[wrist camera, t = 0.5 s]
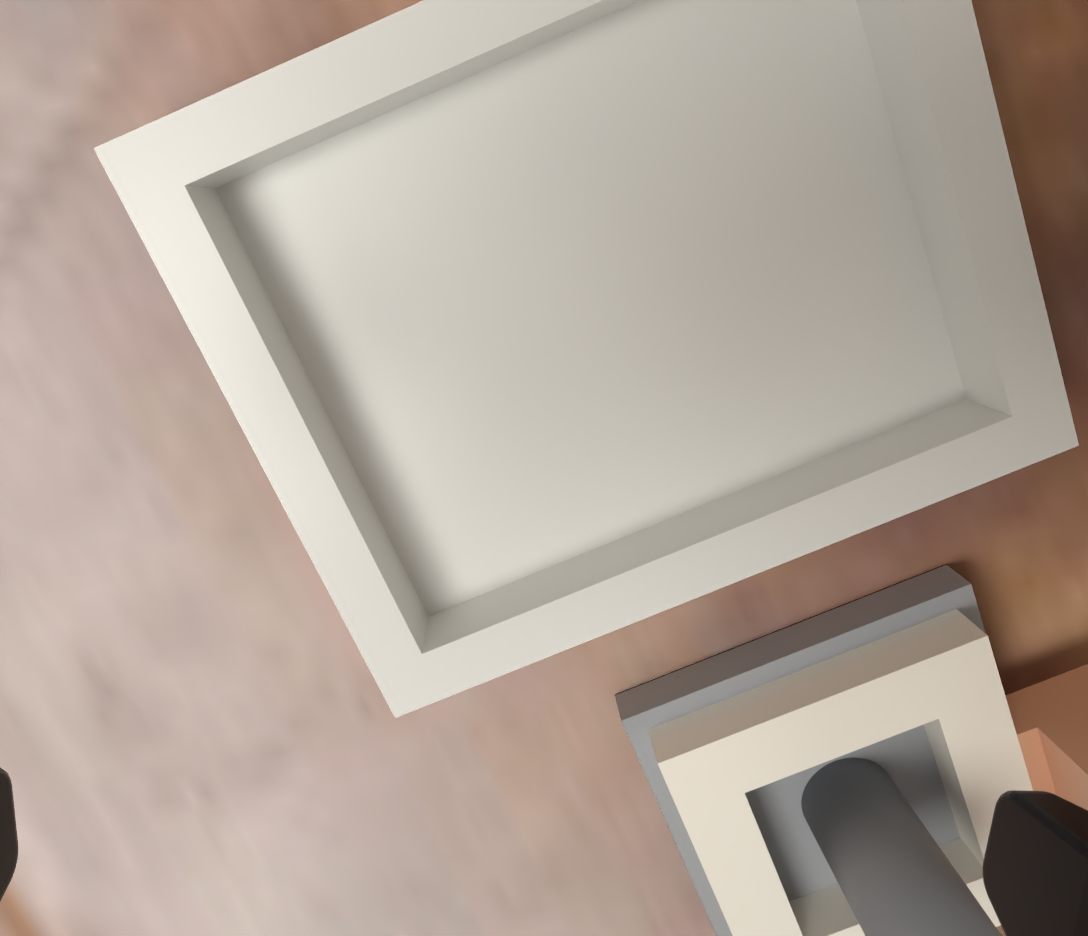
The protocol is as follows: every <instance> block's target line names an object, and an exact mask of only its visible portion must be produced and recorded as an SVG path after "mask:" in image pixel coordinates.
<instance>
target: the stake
mask: <svg viewBox="0 0 1088 936" xmlns="http://www.w3.org/2000/svg"><path fill="white" fill-rule="evenodd" d="M955 609H957V610H958V611H960V612H961V613H962V614H963V615H964V616H965V617H967V618H968V619H969V620H970V621H971V622H972V623H974V624H975V625H976V626H977V627H978V628H979V629H981V630H982V631H983V632H984V633H985V634H986V632H985V629H984V626H983V622H982V619H981V615H980V612H979V609H978V605H977V602H976V598H975V595H974V591H973V588H972V585H971V583H970V582H968V581H967V580H966V579H965V578H963V577H962V576H961V575H959V574H958V573H957V572H955V571H954V570H953V569H952V568H950V567H949V566H948V565H944V566H942V567H939V568H937V569H934V570H932V571H929V572H927V573H924V574H922V575H919V576H916V577H914V578H911V579H909V580H906V581H904V582H901V583H899V584H896V585H894V586H891V587H889V588H886V589H883V590H881V591H878V592H876V593H873V594H871V595H868V596H866V597H863V598H861V599H858V600H856V601H853V602H850V603H848V604H845V605H843V606H840V607H838V608H835V609H833V610H830V611H828V612H825V613H823V614H820V615H817V616H815V617H812V618H810V619H807V620H805V621H802V622H800V623H797V624H795V625H792V626H790V627H787V628H784V629H782V630H779V631H777V632H774V633H772V634H769V635H767V636H764V637H762V638H759V639H757V640H754V641H751V642H749V643H746V644H744V645H741V646H739V647H736V648H734V649H731V650H729V651H726V652H724V653H721V654H719V655H716V656H713V657H711V658H708V659H706V660H703V661H701V662H698V663H696V664H693V665H691V666H688V667H686V668H683V669H680V670H678V671H675V672H673V673H670V674H668V675H665V676H663V677H660V678H658V679H655V680H653V681H650V682H647V683H645V684H642V685H640V686H637V687H635V688H632V689H630V690H627V691H625V692H622V693H620V694H617V695H615V697H616V701H617V705H618V709H619V713H620V717H621V721H622V723H623V726H624V728H625V730H626V732H627V735H628V737H629V739H630V741H631V744H632V746H633V748H634V750H635V753H636V755H637V757H638V760H639V762H640V764H641V766H642V769H643V771H644V773H645V775H646V778H647V780H648V782H649V784H650V787H651V789H652V791H653V793H654V796H655V798H656V800H657V802H658V805H659V807H660V809H661V811H662V814H663V816H664V818H665V820H666V823H667V825H668V827H669V829H670V832H671V834H672V836H673V838H674V841H675V843H676V845H677V848H678V850H679V852H680V854H681V857H682V859H683V861H684V863H685V866H686V868H687V870H688V872H689V875H690V877H691V879H692V881H693V884H694V886H695V888H696V890H697V893H698V895H699V897H700V899H701V902H702V904H703V906H704V908H705V911H706V913H707V915H708V917H709V920H710V922H711V924H712V926H713V929H714V931H715V933H716V936H733V935H732V933H731V931H730V929H729V926H728V924H727V922H726V919H725V917H724V915H723V912H722V910H721V908H720V906H719V903H718V901H717V899H716V896H715V894H714V892H713V890H712V887H711V885H710V883H709V880H708V878H707V876H706V874H705V871H704V869H703V867H702V864H701V862H700V860H699V857H698V855H697V853H696V851H695V848H694V846H693V844H692V841H691V839H690V837H689V835H688V832H687V830H686V828H685V825H684V823H683V821H682V819H681V816H680V814H679V812H678V809H677V807H676V805H675V803H674V800H673V798H672V796H671V793H670V791H669V789H668V786H667V784H666V782H665V780H664V777H663V775H662V773H661V770H660V768H659V766H658V763H657V760H656V757H655V753H654V750H653V747H652V743H651V740H650V737H649V733H648V729H651V728H653V727H656V726H659V725H661V724H664V723H666V722H669V721H671V720H674V719H677V718H679V717H682V716H684V715H687V714H689V713H692V712H694V711H697V710H700V709H702V708H705V707H707V706H710V705H712V704H715V703H717V702H720V701H723V700H725V699H728V698H730V697H733V696H735V695H738V694H741V693H743V692H746V691H748V690H751V689H753V688H756V687H758V686H761V685H764V684H766V683H769V682H771V681H774V680H776V679H779V678H781V677H784V676H787V675H789V674H792V673H794V672H797V671H799V670H802V669H804V668H807V667H810V666H812V665H815V664H817V663H820V662H822V661H825V660H828V659H830V658H833V657H835V656H838V655H840V654H843V653H845V652H848V651H851V650H853V649H856V648H858V647H861V646H863V645H866V644H868V643H871V642H874V641H876V640H879V639H881V638H884V637H886V636H889V635H891V634H894V633H897V632H899V631H902V630H904V629H907V628H909V627H912V626H915V625H917V624H920V623H922V622H925V621H927V620H930V619H932V618H935V617H938V616H940V615H943V614H945V613H948V612H950V611H953V610H955ZM745 795H746V798H747V800H748V803H749V805H750V808H751V810H752V812H753V815H754V817H755V820H756V822H757V825H758V827H759V830H760V832H761V835H762V837H763V839H764V842H765V844H766V847H767V849H768V852H769V854H770V857H771V859H772V862H773V864H774V866H775V869H776V871H777V874H778V876H779V879H780V881H781V884H782V886H783V889H784V891H785V893H786V896H787V898H788V901H792V900H795V899H797V898H800V897H803V896H805V895H808V894H811V893H813V892H816V891H819V890H821V889H824V888H827V887H829V886H832V885H835V884H837V883H838V884H839V886H840V888H841V890H842V892H843V893H844V895H845V897H846V899H847V901H848V903H849V905H850V907H851V909H852V911H853V913H854V915H855V917H856V919H857V921H858V923H859V925H860V927H861V928H862V930H863V932H864V934H865V936H1002V935H1001V934H1000V932H999V931H998V929H997V928H996V927H995V925H994V924H993V922H992V921H991V919H990V918H989V917H988V915H987V914H986V912H985V911H984V909H983V908H982V907H981V905H980V904H979V902H978V901H977V900H976V898H975V897H974V895H973V894H972V892H971V891H970V890H969V888H968V887H967V885H966V884H965V882H964V881H963V880H962V878H961V877H960V875H959V874H958V873H957V871H956V870H955V868H954V867H953V865H952V864H951V863H950V861H949V860H948V858H947V857H946V856H945V854H944V853H943V851H942V850H941V848H940V847H939V845H941V844H944V843H947V842H949V841H952V840H955V839H957V838H960V834H959V831H958V828H957V825H956V822H955V819H954V816H953V813H952V810H951V807H950V804H949V801H948V798H947V795H946V792H945V789H944V785H943V782H942V779H941V776H940V773H939V770H938V767H937V764H936V761H935V758H934V755H933V752H932V749H931V746H930V743H929V740H928V737H927V734H926V731H925V727H924V724H923V725H921V726H918V727H916V728H913V729H910V730H908V731H905V732H903V733H900V734H897V735H895V736H892V737H890V738H887V739H884V740H882V741H879V742H877V743H874V744H871V745H869V746H866V747H864V748H861V749H858V750H856V751H853V752H850V753H848V754H845V755H843V756H840V757H837V758H835V759H832V760H830V761H827V762H824V763H822V764H819V765H817V766H814V767H811V768H809V769H806V770H804V771H801V772H798V773H796V774H793V775H791V776H788V777H785V778H783V779H780V780H778V781H775V782H772V783H770V784H767V785H764V786H762V787H759V788H757V789H754V790H751V791H749V792H746V793H745Z"/></svg>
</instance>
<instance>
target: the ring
mask: <svg viewBox="0 0 1088 936" xmlns="http://www.w3.org/2000/svg"><path fill="white" fill-rule="evenodd" d="M923 724H924V727H925V731H926V734H927V737H928V740H929V743H930V746H931V749H932V752H933V755H934V758H935V761H936V764H937V767H938V770H939V773H940V776H941V779H942V782H943V785H944V789H945V792H946V795H947V798H948V801H949V804H950V807H951V810H952V813H953V816H954V819H955V822H956V825H957V828H958V831H959V834H960V838H957V839H955V840H952V841H949V842H947V843H944V844H941V845H939V847H940V848H941V850H942V851H943V853H944V854H945V856H946V857H947V858H948V860H949V861H950V863H951V864H952V865H953V867H954V868H955V870H956V871H957V873H958V874H959V875H960V877H961V878H962V880H963V881H964V882H965V884H966V885H967V887H968V888H969V890H970V891H971V892H972V894H973V895H974V897H975V898H976V900H977V901H978V902H979V904H980V905H981V907H982V908H983V909H984V911H985V912H986V914H987V915H988V917H989V918H990V919H991V921H992V922H993V924H994V925H995V927H997V926H1000V925H1001V924H1000V922H999V920H998V917H997V915H996V913H995V911H994V909H993V906H992V904H991V902H990V900H989V898H988V895H987V892H986V889H985V886H984V881H983V860H984V855H985V851H986V846H987V842H988V837H989V832H990V828H991V823H992V818H993V814H994V809H995V805H996V802H997V800H998V798H999V797H1000V795H1002V794H1003V793H1005V792H1006V791H1010V790H1019V791H1045V792H1050V793H1053V794H1055V795H1057V796H1059V797H1061V798H1063V799H1065V800H1067V801H1069V802H1071V803H1073V804H1075V805H1078V806H1080V807H1082V808H1084V809H1086V810H1088V664H1086V665H1084V666H1081V667H1079V668H1076V669H1073V670H1071V671H1068V672H1065V673H1063V674H1060V675H1058V676H1055V677H1052V678H1050V679H1047V680H1045V681H1042V682H1039V683H1037V684H1034V685H1032V686H1029V687H1026V688H1024V689H1021V690H1019V691H1016V692H1013V693H1011V694H1008V695H1006V696H1005V693H1004V689H1003V686H1002V683H1001V679H1000V676H999V672H998V669H997V665H996V662H995V659H994V655H993V652H992V648H991V645H990V642H989V638H988V635H986V634H985V633H984V632H983V631H982V630H981V629H979V628H978V627H977V626H976V625H975V624H974V623H972V622H971V621H970V620H969V619H968V618H967V617H965V616H964V615H963V614H962V613H961V612H960V611H958V610H957V609H955V610H953V611H950V612H948V613H945V614H943V615H940V616H938V617H935V618H932V619H930V620H927V621H925V622H922V623H920V624H917V625H915V626H912V627H909V628H907V629H904V630H902V631H899V632H897V633H894V634H891V635H889V636H886V637H884V638H881V639H879V640H876V641H874V642H871V643H868V644H866V645H863V646H861V647H858V648H856V649H853V650H851V651H848V652H845V653H843V654H840V655H838V656H835V657H833V658H830V659H828V660H825V661H822V662H820V663H817V664H815V665H812V666H810V667H807V668H804V669H802V670H799V671H797V672H794V673H792V674H789V675H787V676H784V677H781V678H779V679H776V680H774V681H771V682H769V683H766V684H764V685H761V686H758V687H756V688H753V689H751V690H748V691H746V692H743V693H741V694H738V695H735V696H733V697H730V698H728V699H725V700H723V701H720V702H717V703H715V704H712V705H710V706H707V707H705V708H702V709H700V710H697V711H694V712H692V713H689V714H687V715H684V716H682V717H679V718H677V719H674V720H671V721H669V722H666V723H664V724H661V725H659V726H656V727H653V728H651V729H648V733H649V737H650V740H651V743H652V747H653V750H654V753H655V757H656V760H657V763H658V766H659V768H660V770H661V773H662V775H663V777H664V780H665V782H666V784H667V786H668V789H669V791H670V793H671V796H672V798H673V800H674V803H675V805H676V807H677V809H678V812H679V814H680V816H681V819H682V821H683V823H684V825H685V828H686V830H687V832H688V835H689V837H690V839H691V841H692V844H693V846H694V848H695V851H696V853H697V855H698V857H699V860H700V862H701V864H702V867H703V869H704V871H705V874H706V876H707V878H708V880H709V883H710V885H711V887H712V890H713V892H714V894H715V896H716V899H717V901H718V903H719V906H720V908H721V910H722V912H723V915H724V917H725V919H726V922H727V924H728V926H729V929H730V931H731V933H732V935H733V936H865V934H864V932H863V930H862V928H861V927H860V925H859V923H858V921H857V919H856V917H855V915H854V913H853V911H852V909H851V907H850V905H849V903H848V901H847V899H846V897H845V895H844V893H843V892H842V890H841V888H840V886H839V884H838V883H837V884H835V885H832V886H829V887H827V888H824V889H821V890H819V891H816V892H813V893H811V894H808V895H805V896H803V897H800V898H797V899H795V900H792V901H788V898H787V896H786V893H785V891H784V889H783V886H782V884H781V881H780V879H779V876H778V874H777V871H776V869H775V866H774V864H773V862H772V859H771V857H770V854H769V852H768V849H767V847H766V844H765V842H764V839H763V837H762V835H761V832H760V830H759V827H758V825H757V822H756V820H755V817H754V815H753V812H752V810H751V808H750V805H749V803H748V800H747V798H746V795H745V793H746V792H749V791H751V790H754V789H757V788H759V787H762V786H764V785H767V784H770V783H772V782H775V781H778V780H780V779H783V778H785V777H788V776H791V775H793V774H796V773H798V772H801V771H804V770H806V769H809V768H811V767H814V766H817V765H819V764H822V763H824V762H827V761H830V760H832V759H835V758H837V757H840V756H843V755H845V754H848V753H850V752H853V751H856V750H858V749H861V748H864V747H866V746H869V745H871V744H874V743H877V742H879V741H882V740H884V739H887V738H890V737H892V736H895V735H897V734H900V733H903V732H905V731H908V730H910V729H913V728H916V727H918V726H921V725H923Z"/></svg>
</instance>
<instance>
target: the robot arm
mask: <svg viewBox="0 0 1088 936" xmlns="http://www.w3.org/2000/svg"><path fill="white" fill-rule="evenodd" d="M17 858H18V840H17V830H16V821H15V811H14V801H13V792H12V784H11V780H10V777H9V775H8V773H7V772H6V771H4V770H3V769H2V768H0V901H1V899H2V897H3V895H4V893H5V891H6V889H7V887H8V885H9V883H10V881H11V879H12V876H13V874H14V871H15V868H16V863H17ZM983 881H984V886H985V889H986V892H987V895H988V898H989V900H990V902H991V904H992V906H993V909H994V911H995V913H996V915H997V917H998V920H999V922H1000V924H1001V926H1002V928H1003V931H1004V933H1005V935H1006V936H1088V810H1086V809H1084V808H1082V807H1080V806H1078V805H1075V804H1073V803H1071V802H1069V801H1067V800H1065V799H1063V798H1061V797H1059V796H1057V795H1055V794H1053V793H1050V792H1045V791H1019V790H1010V791H1006V792H1005V793H1003V794H1002V795H1000V797H999V798H998V800H997V802H996V805H995V809H994V814H993V818H992V823H991V828H990V832H989V837H988V842H987V846H986V851H985V855H984V860H983Z"/></svg>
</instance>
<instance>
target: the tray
mask: <svg viewBox="0 0 1088 936" xmlns="http://www.w3.org/2000/svg"><path fill="white" fill-rule="evenodd" d="M94 150H95V152H96V154H97V156H98V158H99V160H100V161H101V163H102V165H103V167H104V169H105V171H106V173H107V175H108V177H109V178H110V180H111V182H112V184H113V186H114V188H115V190H116V192H117V194H118V195H119V197H120V199H121V201H122V203H123V205H124V207H125V209H126V211H127V212H128V214H129V216H130V218H131V220H132V222H133V224H134V226H135V228H136V229H137V231H138V233H139V235H140V237H141V239H142V241H143V243H144V245H145V246H146V248H147V250H148V252H149V254H150V256H151V258H152V260H153V262H154V263H155V265H156V267H157V269H158V271H159V273H160V275H161V277H162V279H163V280H164V282H165V284H166V286H167V288H168V290H169V292H170V294H171V296H172V297H173V299H174V301H175V303H176V305H177V307H178V309H179V311H180V313H181V314H182V316H183V318H184V320H185V322H186V324H187V326H188V328H189V330H190V331H191V333H192V335H193V337H194V339H195V341H196V343H197V345H198V347H199V348H200V350H201V352H202V354H203V356H204V358H205V360H206V362H207V364H208V365H209V367H210V369H211V371H212V373H213V375H214V377H215V379H216V381H217V382H218V384H219V386H220V388H221V390H222V392H223V394H224V396H225V398H226V399H227V401H228V403H229V405H230V407H231V409H232V411H233V413H234V415H235V416H236V418H237V420H238V422H239V424H240V426H241V428H242V430H243V432H244V433H245V435H246V437H247V439H248V441H249V443H250V445H251V447H252V449H253V450H254V452H255V454H256V456H257V458H258V460H259V462H260V464H261V465H262V467H263V469H264V471H265V473H266V475H267V477H268V479H269V481H270V482H271V484H272V486H273V488H274V490H275V492H276V494H277V496H278V498H279V499H280V501H281V503H282V505H283V507H284V509H285V511H286V513H287V515H288V516H289V518H290V520H291V522H292V524H293V526H294V528H295V530H296V532H297V533H298V535H299V537H300V539H301V541H302V543H303V545H304V547H305V549H306V550H307V552H308V554H309V556H310V558H311V560H312V562H313V564H314V566H315V567H316V569H317V571H318V573H319V575H320V577H321V579H322V581H323V583H324V584H325V586H326V588H327V590H328V592H329V594H330V596H331V598H332V600H333V601H334V603H335V605H336V607H337V609H338V611H339V613H340V615H341V617H342V618H343V620H344V622H345V624H346V626H347V628H348V630H349V632H350V634H351V635H352V637H353V639H354V641H355V643H356V645H357V647H358V649H359V651H360V652H361V654H362V656H363V658H364V660H365V662H366V664H367V666H368V668H369V669H370V671H371V673H372V675H373V677H374V679H375V681H376V683H377V685H378V686H379V688H380V690H381V692H382V694H383V696H384V698H385V700H386V702H387V703H388V705H389V707H390V709H391V711H392V713H393V715H394V717H395V718H396V717H399V716H402V715H404V714H407V713H409V712H412V711H414V710H417V709H419V708H422V707H424V706H427V705H429V704H432V703H434V702H437V701H439V700H442V699H444V698H447V697H449V696H452V695H454V694H457V693H459V692H462V691H464V690H467V689H469V688H472V687H474V686H477V685H479V684H482V683H484V682H487V681H489V680H492V679H494V678H497V677H499V676H502V675H504V674H507V673H509V672H512V671H514V670H517V669H519V668H522V667H524V666H527V665H529V664H532V663H534V662H537V661H540V660H542V659H545V658H547V657H550V656H552V655H555V654H557V653H560V652H562V651H565V650H567V649H570V648H572V647H575V646H577V645H580V644H582V643H585V642H587V641H590V640H592V639H595V638H597V637H600V636H602V635H605V634H607V633H610V632H612V631H615V630H617V629H620V628H622V627H625V626H627V625H630V624H632V623H635V622H637V621H640V620H642V619H645V618H647V617H650V616H652V615H655V614H657V613H660V612H662V611H665V610H667V609H670V608H672V607H675V606H678V605H680V604H683V603H685V602H688V601H690V600H693V599H695V598H698V597H700V596H703V595H705V594H708V593H710V592H713V591H715V590H718V589H720V588H723V587H725V586H728V585H730V584H733V583H735V582H738V581H740V580H743V579H745V578H748V577H750V576H753V575H755V574H758V573H760V572H763V571H765V570H768V569H770V568H773V567H775V566H778V565H780V564H783V563H785V562H788V561H790V560H793V559H795V558H798V557H800V556H803V555H805V554H808V553H810V552H813V551H816V550H818V549H821V548H823V547H826V546H828V545H831V544H833V543H836V542H838V541H841V540H843V539H846V538H848V537H851V536H853V535H856V534H858V533H861V532H863V531H866V530H868V529H871V528H873V527H876V526H878V525H881V524H883V523H886V522H888V521H891V520H893V519H896V518H898V517H901V516H903V515H906V514H908V513H911V512H913V511H916V510H918V509H921V508H923V507H926V506H928V505H931V504H933V503H936V502H938V501H941V500H943V499H946V498H948V497H951V496H954V495H956V494H959V493H961V492H964V491H966V490H969V489H971V488H974V487H976V486H979V485H981V484H984V483H986V482H989V481H991V480H994V479H996V478H999V477H1001V476H1004V475H1006V474H1009V473H1011V472H1014V471H1016V470H1019V469H1021V468H1024V467H1026V466H1029V465H1031V464H1034V463H1036V462H1039V461H1041V460H1044V459H1046V458H1049V457H1051V456H1054V455H1056V454H1059V453H1061V452H1064V451H1066V450H1069V449H1071V448H1074V447H1076V446H1079V444H1078V439H1077V435H1076V431H1075V427H1074V423H1073V419H1072V415H1071V411H1070V406H1069V402H1068V398H1067V394H1066V390H1065V386H1064V382H1063V377H1062V373H1061V369H1060V365H1059V361H1058V357H1057V353H1056V348H1055V344H1054V340H1053V336H1052V332H1051V328H1050V324H1049V320H1048V315H1047V311H1046V307H1045V303H1044V299H1043V295H1042V291H1041V286H1040V282H1039V278H1038V274H1037V270H1036V266H1035V262H1034V257H1033V253H1032V249H1031V245H1030V241H1029V237H1028V233H1027V229H1026V224H1025V220H1024V216H1023V212H1022V208H1021V204H1020V200H1019V195H1018V191H1017V187H1016V183H1015V179H1014V175H1013V171H1012V167H1011V162H1010V158H1009V154H1008V150H1007V146H1006V142H1005V138H1004V133H1003V129H1002V125H1001V121H1000V117H999V113H998V109H997V104H996V100H995V96H994V92H993V88H992V84H991V80H990V76H989V71H988V67H987V63H986V59H985V55H984V51H983V47H982V42H981V38H980V34H979V30H978V26H977V22H976V18H975V13H974V9H973V5H972V1H971V0H423V1H421V2H419V3H416V4H414V5H412V6H410V7H408V8H405V9H403V10H401V11H399V12H396V13H394V14H392V15H390V16H387V17H385V18H383V19H381V20H379V21H376V22H374V23H372V24H370V25H367V26H365V27H363V28H361V29H358V30H356V31H354V32H352V33H350V34H347V35H345V36H343V37H341V38H338V39H336V40H334V41H332V42H329V43H327V44H325V45H323V46H321V47H318V48H316V49H314V50H312V51H309V52H307V53H305V54H303V55H300V56H298V57H296V58H294V59H292V60H289V61H287V62H285V63H283V64H280V65H278V66H276V67H274V68H271V69H269V70H267V71H265V72H263V73H260V74H258V75H256V76H254V77H251V78H249V79H247V80H245V81H242V82H240V83H238V84H236V85H234V86H231V87H229V88H227V89H225V90H222V91H220V92H218V93H216V94H213V95H211V96H209V97H207V98H205V99H202V100H200V101H198V102H196V103H193V104H191V105H189V106H187V107H184V108H182V109H180V110H178V111H176V112H173V113H171V114H169V115H167V116H164V117H162V118H160V119H158V120H155V121H153V122H151V123H149V124H147V125H144V126H142V127H140V128H138V129H135V130H133V131H131V132H129V133H126V134H124V135H122V136H120V137H118V138H115V139H113V140H111V141H109V142H106V143H104V144H102V145H100V146H97V147H95V148H94Z"/></svg>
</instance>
